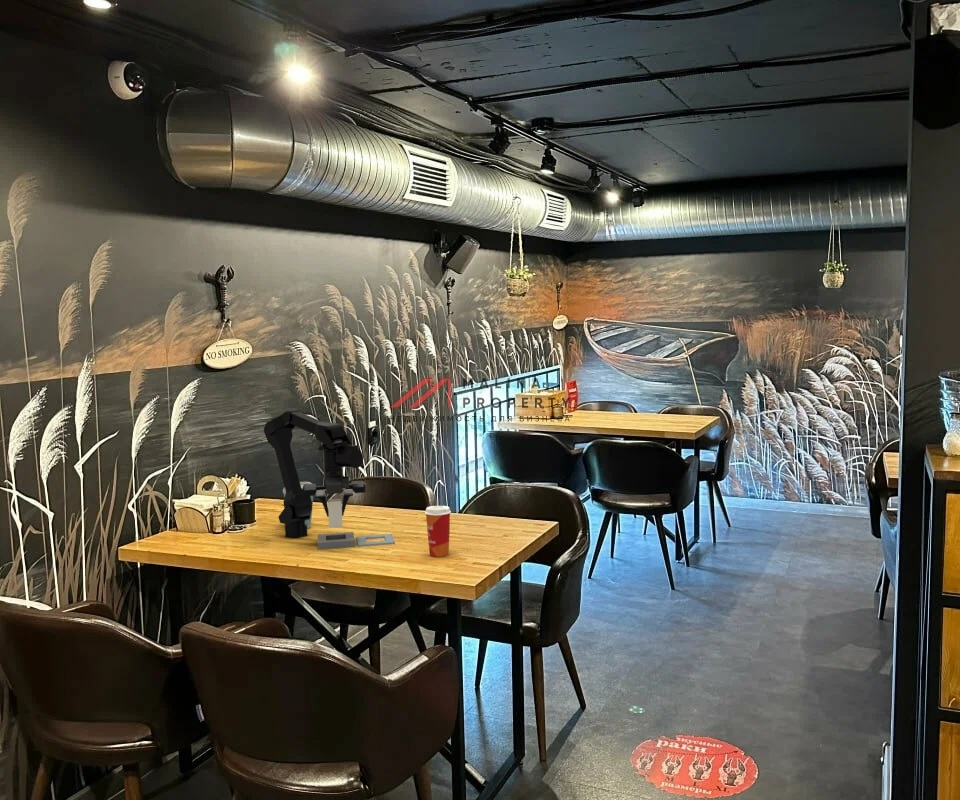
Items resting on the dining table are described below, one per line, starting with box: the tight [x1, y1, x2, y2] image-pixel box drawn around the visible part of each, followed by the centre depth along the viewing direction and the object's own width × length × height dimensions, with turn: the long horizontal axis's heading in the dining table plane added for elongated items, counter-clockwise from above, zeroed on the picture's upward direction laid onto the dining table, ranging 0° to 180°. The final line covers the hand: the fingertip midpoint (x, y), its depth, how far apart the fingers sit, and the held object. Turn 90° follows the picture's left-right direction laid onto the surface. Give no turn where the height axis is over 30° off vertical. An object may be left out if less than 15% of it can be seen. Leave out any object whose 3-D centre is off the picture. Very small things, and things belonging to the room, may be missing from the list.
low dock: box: [356, 533, 396, 548], centre depth 260 cm, size 11×11×2 cm
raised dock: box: [317, 531, 356, 551], centre depth 258 cm, size 11×11×4 cm
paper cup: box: [424, 505, 452, 558], centre depth 247 cm, size 8×8×14 cm
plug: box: [327, 498, 344, 529], centre depth 257 cm, size 4×4×8 cm
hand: (335, 516), depth 257 cm, fingers closed on plug, 4 cm apart
